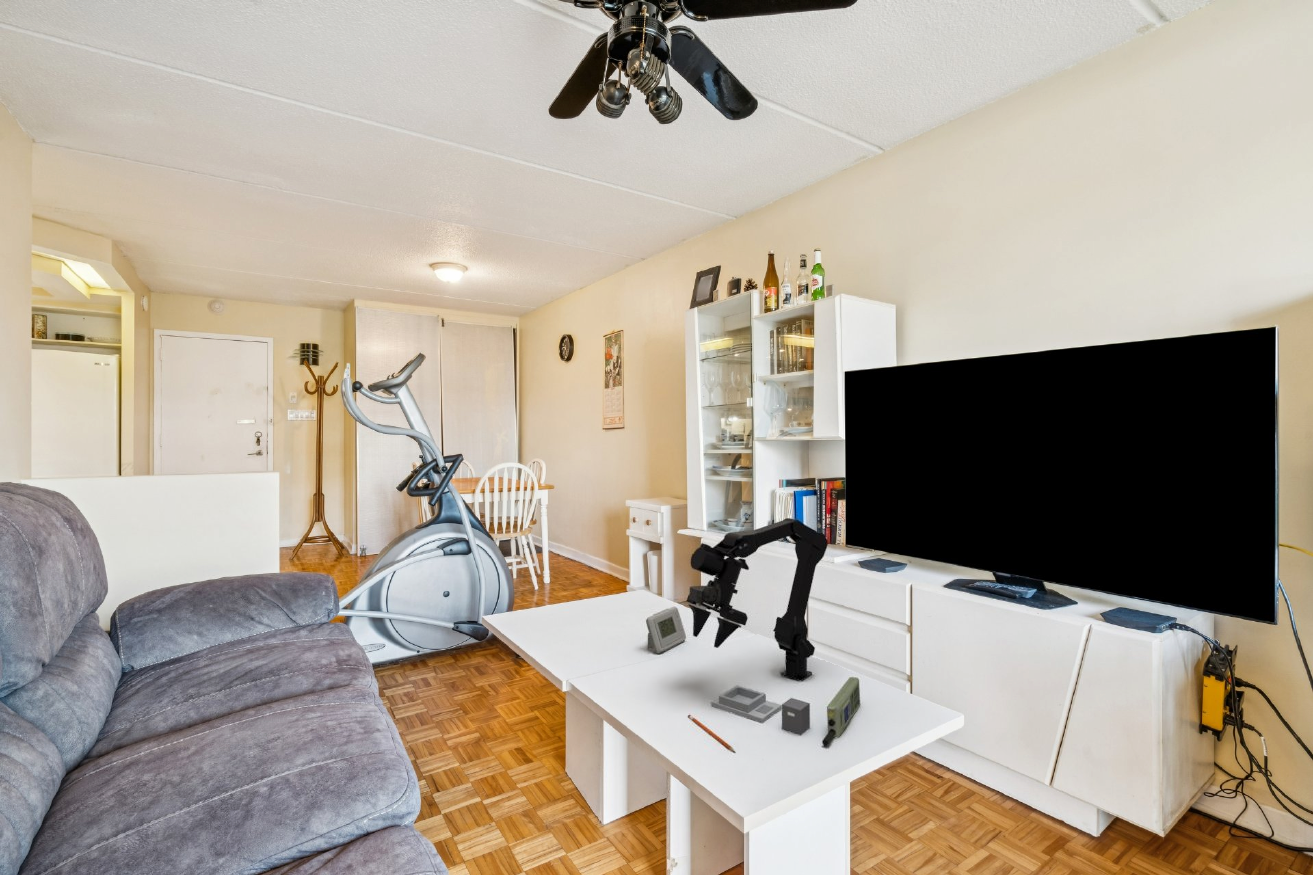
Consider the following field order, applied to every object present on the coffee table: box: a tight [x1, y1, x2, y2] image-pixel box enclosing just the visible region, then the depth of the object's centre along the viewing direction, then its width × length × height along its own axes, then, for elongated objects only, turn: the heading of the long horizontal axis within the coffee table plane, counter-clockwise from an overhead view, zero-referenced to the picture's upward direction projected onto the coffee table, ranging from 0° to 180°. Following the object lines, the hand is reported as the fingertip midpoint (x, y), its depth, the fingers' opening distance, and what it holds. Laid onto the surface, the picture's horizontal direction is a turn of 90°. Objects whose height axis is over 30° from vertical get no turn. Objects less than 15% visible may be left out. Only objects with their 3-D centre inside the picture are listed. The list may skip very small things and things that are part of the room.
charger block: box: [781, 697, 811, 736], centre depth 134 cm, size 5×4×6 cm
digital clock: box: [645, 606, 687, 654], centre depth 189 cm, size 16×9×11 cm, turn 134°
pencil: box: [687, 714, 736, 753], centre depth 132 cm, size 1×19×1 cm, turn 27°
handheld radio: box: [821, 676, 861, 747], centre depth 136 cm, size 7×3×25 cm
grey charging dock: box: [710, 684, 782, 724], centre depth 145 cm, size 9×14×3 cm, turn 50°
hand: (705, 641), depth 151 cm, fingers open, 9 cm apart
